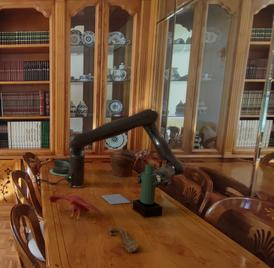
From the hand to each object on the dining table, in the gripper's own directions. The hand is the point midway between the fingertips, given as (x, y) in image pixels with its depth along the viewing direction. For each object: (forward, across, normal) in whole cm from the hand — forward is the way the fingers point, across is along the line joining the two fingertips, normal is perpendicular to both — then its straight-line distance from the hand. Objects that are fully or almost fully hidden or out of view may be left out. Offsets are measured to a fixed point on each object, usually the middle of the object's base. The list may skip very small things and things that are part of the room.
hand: (146, 183), depth 108 cm
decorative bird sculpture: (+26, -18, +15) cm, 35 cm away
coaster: (-4, -17, +15) cm, 23 cm away
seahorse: (+28, +5, +15) cm, 32 cm away
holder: (-2, 0, +15) cm, 15 cm away
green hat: (-19, -69, +15) cm, 73 cm away
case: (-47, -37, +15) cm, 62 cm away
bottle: (-2, 0, +10) cm, 10 cm away
